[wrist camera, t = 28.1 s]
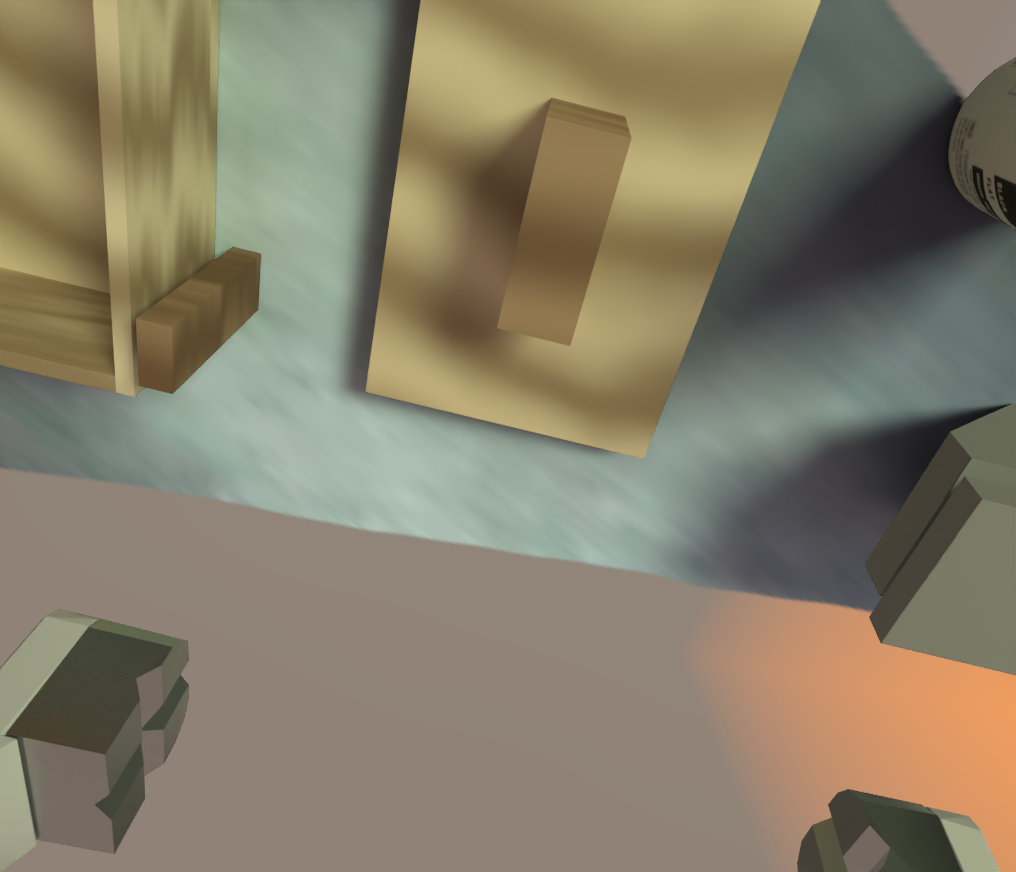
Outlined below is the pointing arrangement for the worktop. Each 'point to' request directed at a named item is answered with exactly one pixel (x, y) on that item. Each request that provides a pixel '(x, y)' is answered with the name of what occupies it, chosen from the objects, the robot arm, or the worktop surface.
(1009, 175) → the spray can
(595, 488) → the worktop surface
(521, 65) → the toolbox lid
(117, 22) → the toolbox
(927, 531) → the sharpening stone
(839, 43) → the worktop surface
